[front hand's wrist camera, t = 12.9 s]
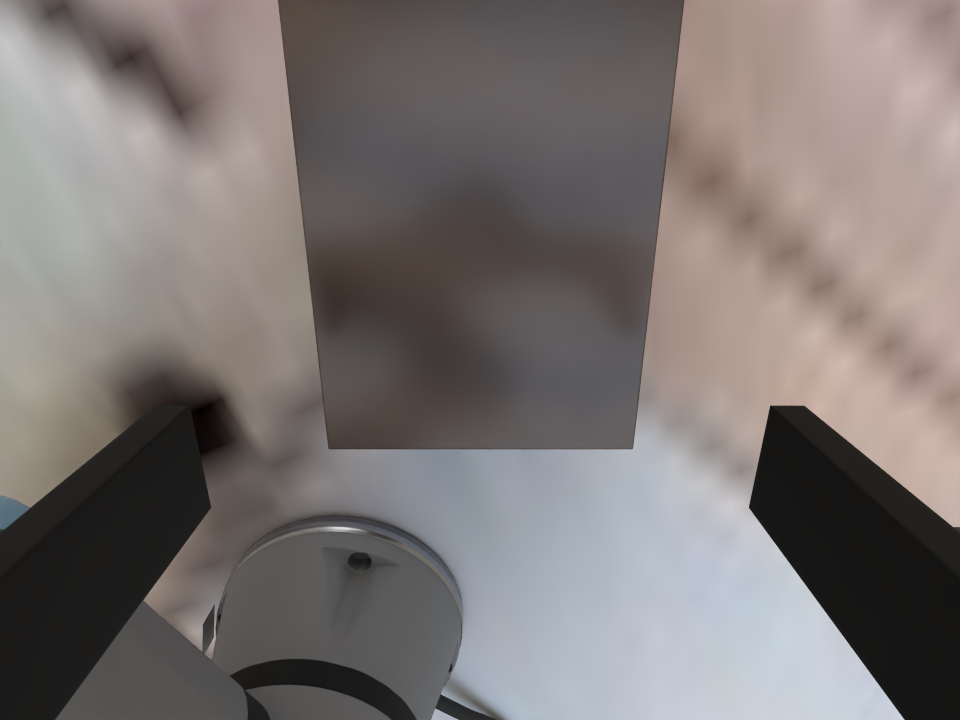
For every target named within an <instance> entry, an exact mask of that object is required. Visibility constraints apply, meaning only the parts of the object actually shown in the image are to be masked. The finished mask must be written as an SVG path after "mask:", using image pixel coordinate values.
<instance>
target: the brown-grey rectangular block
mask: <svg viewBox="0 0 960 720" xmlns="http://www.w3.org/2000/svg"><path fill="white" fill-rule="evenodd" d="M278 4H279V13H280V22H281V31H282V40H283V49H284V57H285V66H286V75H287V84H288V93H289V102H290V111H291V120H292V129H293V138H294V146H295V155H296V164H297V173H298V182H299V191H300V200H301V209H302V218H303V226H304V235H305V244H306V253H307V262H308V271H309V280H310V289H311V298H312V306H313V315H314V324H315V333H316V342H317V351H318V360H319V369H320V378H321V386H322V395H323V404H324V413H325V422H326V431H327V440H328V448H329V449H633V444H634V435H635V426H636V418H637V409H638V400H639V392H640V383H641V374H642V365H643V357H644V348H645V339H646V330H647V322H648V313H649V304H650V295H651V287H652V278H653V269H654V260H655V252H656V243H657V234H658V225H659V217H660V208H661V199H662V190H663V182H664V173H665V164H666V155H667V147H668V138H669V129H670V121H671V112H672V103H673V94H674V86H675V77H676V68H677V59H678V51H679V42H680V33H681V24H682V16H683V7H684V0H278Z"/></svg>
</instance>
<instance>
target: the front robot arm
mask: <svg viewBox="0 0 960 720" xmlns="http://www.w3.org/2000/svg"><path fill="white" fill-rule="evenodd" d="M210 508H211V505H210V500H209V495H208V491H207V486H206V481H205V476H204V472H203V467H202V462H201V457H200V453H199V448H198V443H197V438H196V434H195V429H194V424H193V419H192V415H191V410H190V406H155V407H154V408H152V409H151V410H150V411H149V412H148V413H146V414H145V415H144V416H143V417H141V418H140V419H139V420H138V421H136V422H135V423H134V424H133V425H132V426H130V427H129V428H128V429H127V430H125V431H124V432H123V433H122V434H121V435H119V436H118V437H117V438H116V439H114V440H113V441H112V442H111V443H110V444H108V445H107V446H106V447H105V448H103V449H102V450H101V451H100V452H98V453H97V454H96V455H95V456H94V457H92V458H91V459H90V460H89V461H87V462H86V463H85V464H84V465H83V466H81V467H80V468H79V469H78V470H76V471H75V472H74V473H73V474H71V475H70V476H69V477H68V478H67V479H65V480H64V481H63V482H62V483H60V484H59V485H58V486H57V487H56V488H54V489H53V490H52V491H51V492H49V493H48V494H47V495H46V496H45V497H43V498H42V499H41V500H40V501H38V502H37V503H36V504H35V505H33V506H32V507H31V508H29V507H27V506H26V505H24V504H22V503H20V502H19V501H17V500H14V499H12V498H9V497H5V496H0V720H431V718H432V715H433V712H434V710H435V708H436V709H438V710H440V711H442V712H444V713H446V714H448V715H450V716H452V717H454V718H456V719H458V720H495V719H493V718H491V717H489V716H486V715H484V714H481V713H478V712H476V711H473V710H471V709H469V708H467V707H465V706H463V705H460V704H458V703H457V702H455V701H453V700H451V699H449V698H447V697H445V696H443V695H441V691H442V689H443V687H444V685H445V684H446V682H447V681H448V679H449V677H450V675H451V673H452V671H453V669H454V666H455V664H456V661H457V657H458V653H459V649H460V645H461V639H462V620H463V608H462V601H461V596H460V593H459V590H458V587H457V584H456V582H455V580H454V578H453V576H452V575H451V573H450V572H449V570H448V569H447V567H446V566H445V565H444V563H443V562H442V561H441V560H440V559H439V558H438V557H437V556H436V555H435V554H434V553H433V552H432V551H431V550H430V549H429V548H427V547H426V546H425V545H424V544H422V543H421V542H419V541H418V540H416V539H415V538H413V537H411V536H410V535H408V534H406V533H404V532H402V531H400V530H398V529H396V528H393V527H390V526H388V525H385V524H382V523H379V522H375V521H371V520H366V519H361V518H354V517H341V516H330V517H318V518H310V519H306V520H301V521H297V522H294V523H291V524H288V525H285V526H283V527H281V528H278V529H276V530H274V531H273V532H271V533H269V534H267V535H266V536H264V537H263V538H261V539H260V540H259V541H258V542H256V543H255V544H254V545H253V546H252V547H251V548H250V549H249V550H248V551H247V552H246V553H245V554H244V556H243V557H242V559H241V560H240V561H239V563H238V565H237V567H236V568H235V570H234V572H233V574H232V575H231V577H230V579H229V581H228V583H227V585H226V587H225V589H224V592H223V595H222V598H221V601H220V604H219V608H218V613H217V622H216V642H215V647H214V652H213V657H212V660H211V659H209V658H208V657H207V656H206V655H205V652H206V651H207V649H208V647H209V645H210V643H211V641H212V639H213V638H214V607H215V605H214V606H213V608H212V610H211V612H210V613H209V615H208V617H207V619H206V620H205V622H204V624H203V652H201V651H200V650H199V649H198V648H197V647H196V646H195V645H193V644H192V643H191V642H190V641H189V640H188V639H187V638H185V637H184V636H183V635H182V634H181V633H180V632H178V631H177V630H176V629H175V628H174V627H173V626H172V625H170V624H169V623H168V622H167V621H166V620H165V619H164V618H162V617H161V616H160V615H159V614H158V613H157V612H156V611H154V610H153V609H152V608H151V607H150V606H149V605H148V604H146V603H145V602H144V601H143V600H144V598H145V597H146V596H147V594H148V593H149V591H150V590H151V589H152V587H153V586H154V585H155V583H156V582H157V581H158V579H159V578H160V576H161V575H162V574H163V572H164V571H165V570H166V568H167V567H168V566H169V564H170V563H171V561H172V560H173V559H174V557H175V556H176V555H177V553H178V552H179V551H180V549H181V548H182V547H183V545H184V544H185V542H186V541H187V540H188V538H189V537H190V536H191V534H192V533H193V532H194V530H195V529H196V527H197V526H198V525H199V523H200V522H201V521H202V519H203V518H204V517H205V515H206V514H207V512H208V511H209V510H210ZM749 508H750V510H751V511H752V512H753V514H754V515H755V517H756V518H757V519H758V521H759V522H760V523H761V525H762V526H763V527H764V529H765V530H766V532H767V533H768V534H769V536H770V537H771V538H772V540H773V541H774V542H775V544H776V545H777V547H778V548H779V549H780V551H781V552H782V553H783V555H784V556H785V557H786V559H787V560H788V561H789V563H790V564H791V566H792V567H793V568H794V570H795V571H796V572H797V574H798V575H799V576H800V578H801V579H802V581H803V582H804V583H805V585H806V586H807V587H808V589H809V590H810V591H811V593H812V594H813V596H814V597H815V598H816V600H817V601H818V602H819V604H820V605H821V606H822V608H823V609H824V611H825V612H826V613H827V615H828V616H829V617H830V619H831V620H832V621H833V623H834V624H835V626H836V627H837V628H838V630H839V631H840V632H841V634H842V635H843V636H844V638H845V639H846V640H847V642H848V643H849V645H850V646H851V647H852V649H853V650H854V651H855V653H856V654H857V655H858V657H859V658H860V660H861V661H862V662H863V664H864V665H865V666H866V668H867V669H868V670H869V672H870V673H871V675H872V676H873V677H874V679H875V680H876V681H877V683H878V684H879V685H880V687H881V688H882V690H883V691H884V692H885V694H886V695H887V696H888V698H889V699H890V700H891V702H892V703H893V704H894V706H895V707H896V709H897V710H898V711H899V713H900V714H901V715H902V717H903V718H904V719H905V720H960V527H952V526H951V525H950V524H949V523H947V522H946V521H945V520H944V519H942V518H941V517H940V516H939V515H938V514H936V513H935V512H934V511H933V510H931V509H930V508H929V507H928V506H927V505H925V504H924V503H923V502H922V501H920V500H919V499H918V498H917V497H915V496H914V495H913V494H912V493H911V492H909V491H908V490H907V489H906V488H904V487H903V486H902V485H901V484H900V483H898V482H897V481H896V480H895V479H893V478H892V477H891V476H890V475H889V474H887V473H886V472H885V471H884V470H882V469H881V468H880V467H879V466H877V465H876V464H875V463H874V462H873V461H871V460H870V459H869V458H868V457H866V456H865V455H864V454H863V453H862V452H860V451H859V450H858V449H857V448H855V447H854V446H853V445H852V444H850V443H849V442H848V441H847V440H846V439H844V438H843V437H842V436H841V435H839V434H838V433H837V432H836V431H835V430H833V429H832V428H831V427H830V426H828V425H827V424H826V423H825V422H824V421H822V420H821V419H820V418H819V417H817V416H816V415H815V414H814V413H812V412H811V411H810V410H809V409H808V408H806V407H805V406H770V410H769V415H768V419H767V424H766V429H765V434H764V438H763V443H762V448H761V453H760V457H759V462H758V467H757V472H756V476H755V481H754V486H753V491H752V495H751V500H750V505H749Z"/></svg>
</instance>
